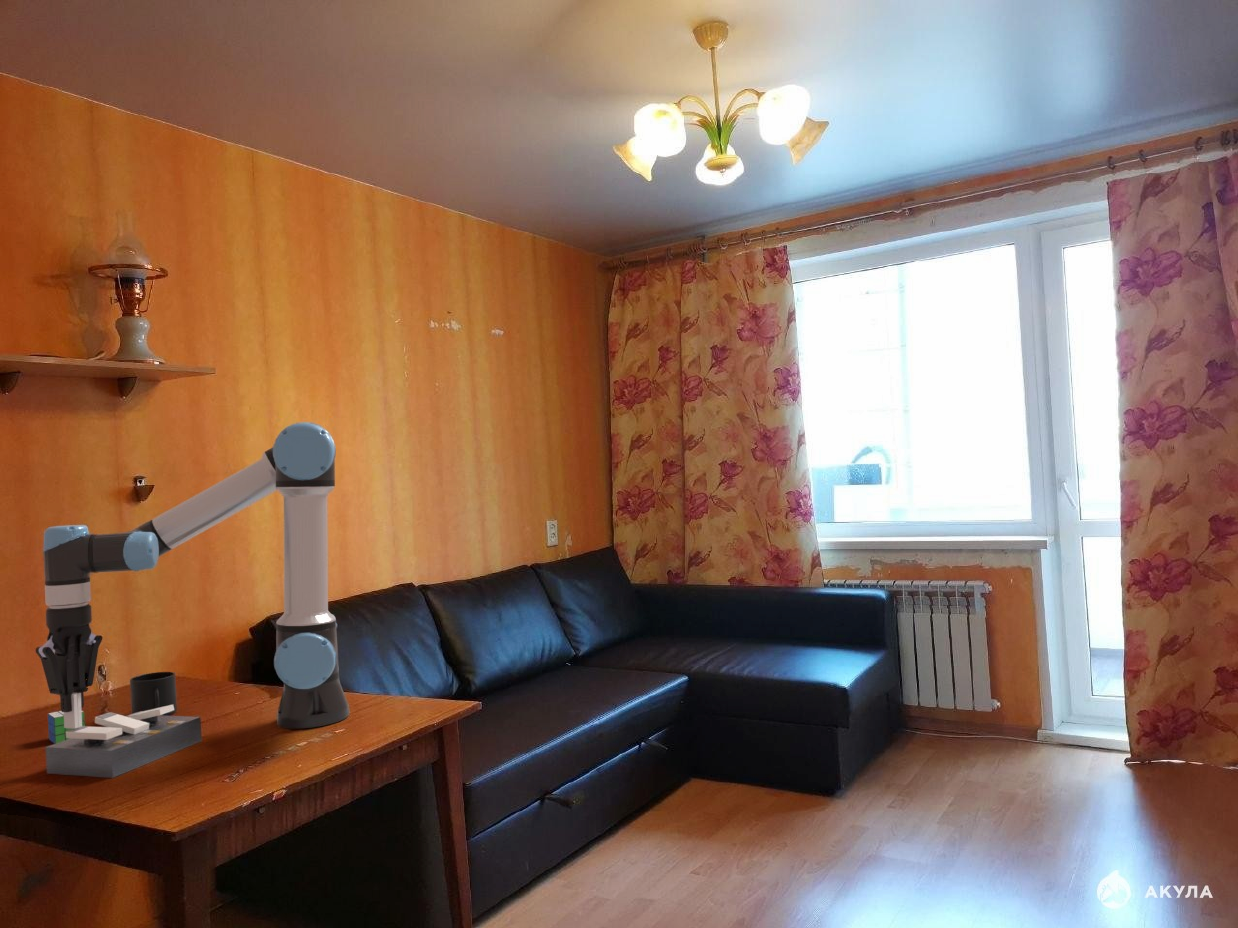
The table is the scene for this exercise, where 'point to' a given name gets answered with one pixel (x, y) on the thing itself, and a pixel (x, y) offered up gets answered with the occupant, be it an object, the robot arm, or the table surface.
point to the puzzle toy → (59, 726)
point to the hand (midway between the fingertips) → (73, 726)
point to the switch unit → (123, 748)
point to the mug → (153, 692)
